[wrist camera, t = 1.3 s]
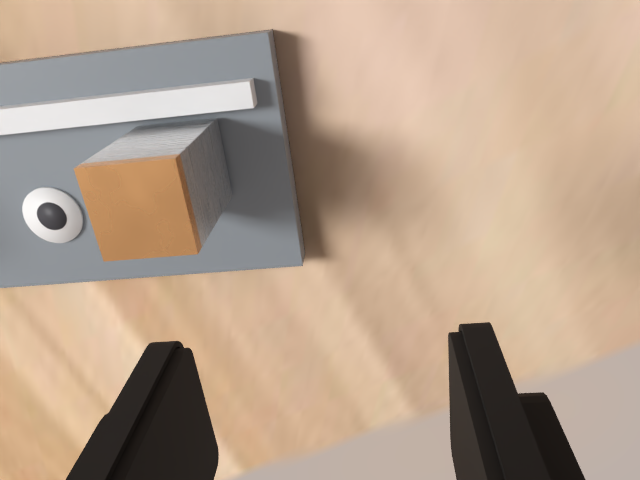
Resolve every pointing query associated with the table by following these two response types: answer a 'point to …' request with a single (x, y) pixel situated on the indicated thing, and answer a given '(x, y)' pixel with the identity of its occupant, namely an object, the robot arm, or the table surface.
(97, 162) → the block
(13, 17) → the table surface
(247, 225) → the divider plate
